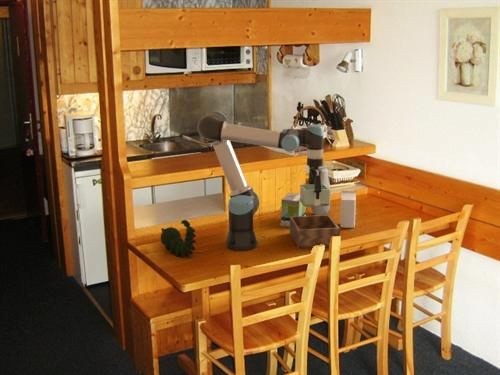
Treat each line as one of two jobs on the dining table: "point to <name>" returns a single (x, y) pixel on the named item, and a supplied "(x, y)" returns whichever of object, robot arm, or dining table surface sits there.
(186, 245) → the toy figurine
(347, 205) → the milk carton
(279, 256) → the dining table surface
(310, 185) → the small green crate
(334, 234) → the walnut crate
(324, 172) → the glass bottle
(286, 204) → the tea box
